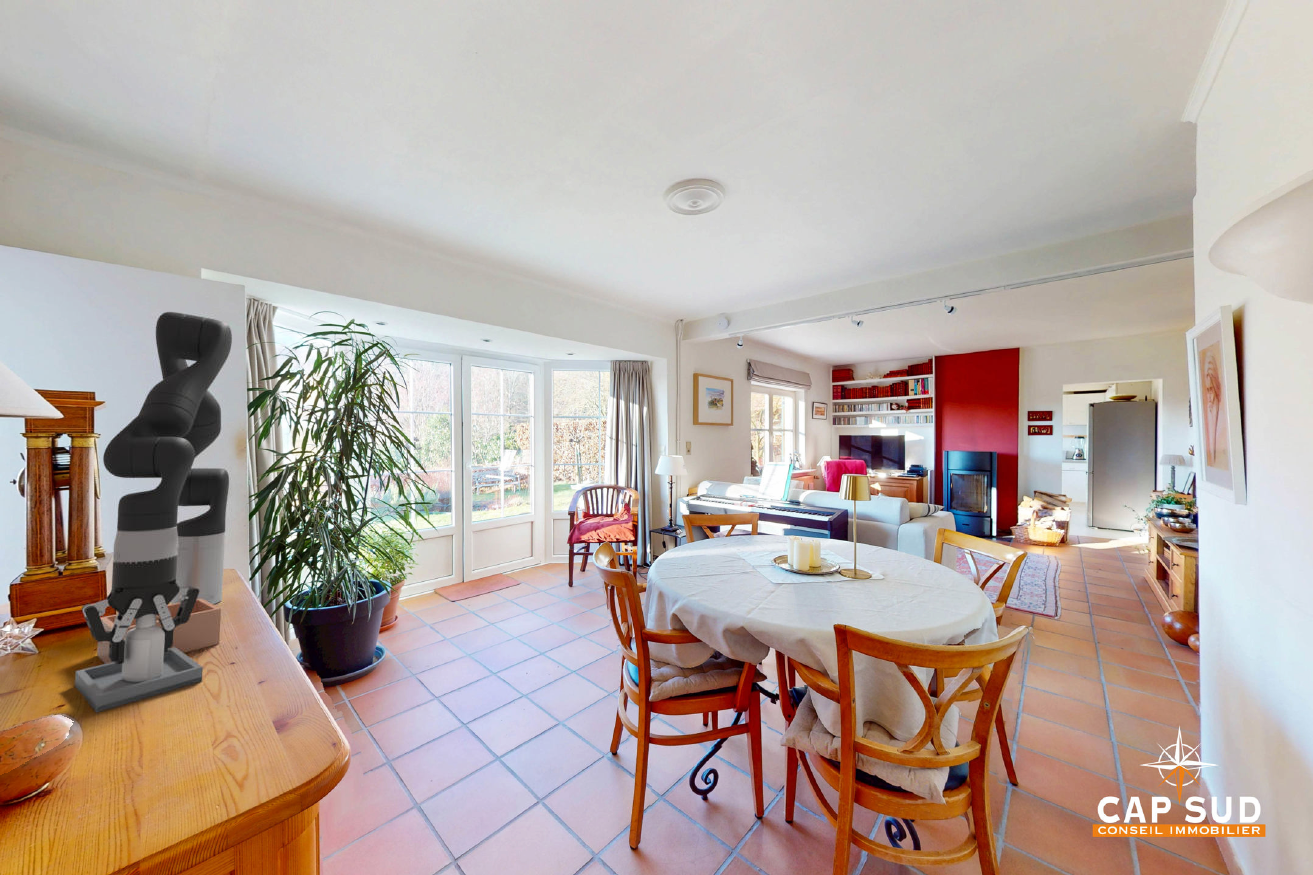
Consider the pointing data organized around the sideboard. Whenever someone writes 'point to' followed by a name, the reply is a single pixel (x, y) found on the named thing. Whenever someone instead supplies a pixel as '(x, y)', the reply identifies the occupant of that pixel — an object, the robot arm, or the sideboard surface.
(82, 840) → the sideboard surface
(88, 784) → the sideboard surface
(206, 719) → the sideboard surface
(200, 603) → the open clay trough
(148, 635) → the eye dropper bottle
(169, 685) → the charcoal tray
